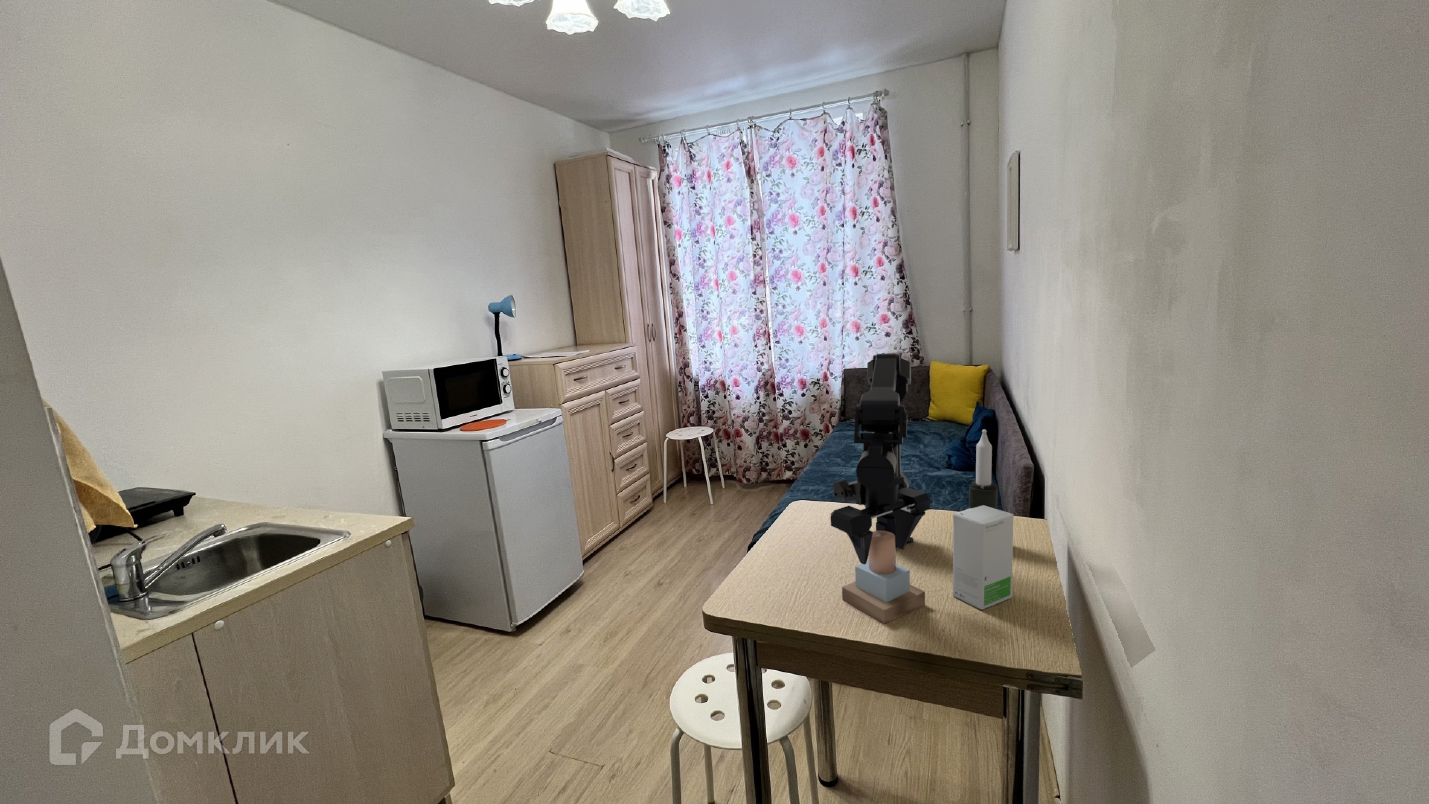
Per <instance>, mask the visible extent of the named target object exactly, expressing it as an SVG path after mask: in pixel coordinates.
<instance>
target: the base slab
mask: <svg viewBox="0 0 1429 804" xmlns="http://www.w3.org/2000/svg"><path fill="white" fill-rule="evenodd" d="M841 587H842V588H841V591H842V592H841V593H842V595H841V596H842V599H841V600H842V601H844V602H846V603H848V604H849V605H850V606H852V607H853V608H856V609H858V610H860V611H861V612H863V613H865V614H867V615H868V616H869V617H871V618H873V619H875V620H877V621H878V622H880V623H881V624H884V625H885V624H887V623H889V622H892V621H895V620H896V619H898V618H900V617H902V616H904V615H907V614H909V613H910V612H911V613H912V612H913V611H915V610H917V609H919V608H922V607H923V606H926V591H925V590H922V589H921V588H919V587H916V586H915V585H912V584H910V591H909V592H907V593H905V594H903V595H901V596H899V597H897V598H895V599H893V600H891V601H889V602H887V603H886V602H884V601H882V600H880V599H878V598H876V597H874V596H873V595H871V594H869V593H867V592H865V591H863V590H861V589H859V588H857V587H856V580H855V581H853V582H851V583H848V584H845V585H844V586H841Z"/></svg>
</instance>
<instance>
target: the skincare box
mask: <svg viewBox="0 0 1429 804" xmlns="http://www.w3.org/2000/svg"><path fill="white" fill-rule="evenodd" d="M952 516H953V517H952V518H953V519H952V521H953V532H952V533H953V542H952V543H953V546H952V547H953V549H952V550H953V552H952V557H953V558H952V562H953V563H952V596H953V597H955V598H957V599H958V600H961V601H962V602H965V603H966V604H969V605H970V606H972V607H974V608H977V609H979V610H985V609H987V608H990V607H993V606H995V605H997V604H999V603H1002V602H1004V601H1007V600H1010V599H1011V598H1012V597H1013V557H1014V556H1013V552H1014V551H1013V550H1014V547H1013V546H1014V545H1013V544H1014V516H1015V515H1014V514H1013V513H1012V512H1007V511H1005V510H1001V509H998V508H997V509H994V508H991V507H988V506H984V505H983V506H979V507H975V508H969V507H968V508H966V509H965V510H961V511H958V512H954V513H953V514H952Z"/></svg>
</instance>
